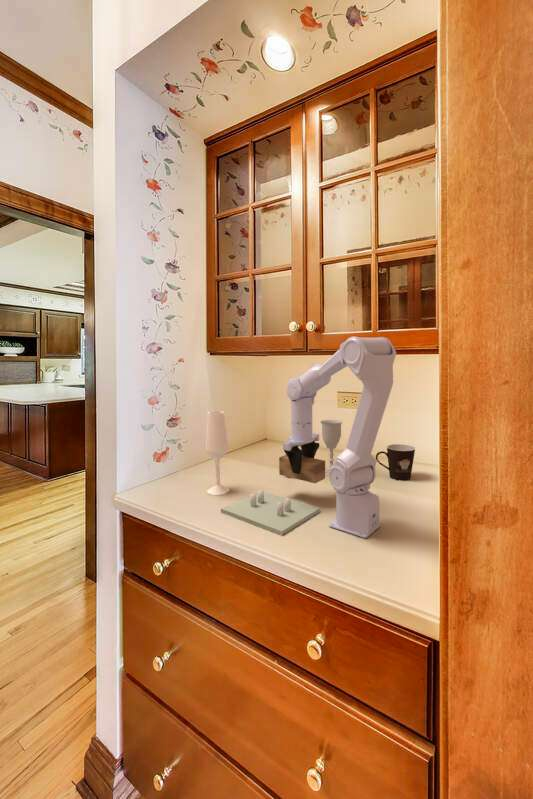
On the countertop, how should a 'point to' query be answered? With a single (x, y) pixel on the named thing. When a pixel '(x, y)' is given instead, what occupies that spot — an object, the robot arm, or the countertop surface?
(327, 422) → the chalice
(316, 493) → the countertop surface
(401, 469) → the coffee mug
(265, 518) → the peg base
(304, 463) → the shelf block
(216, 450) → the champagne flute
